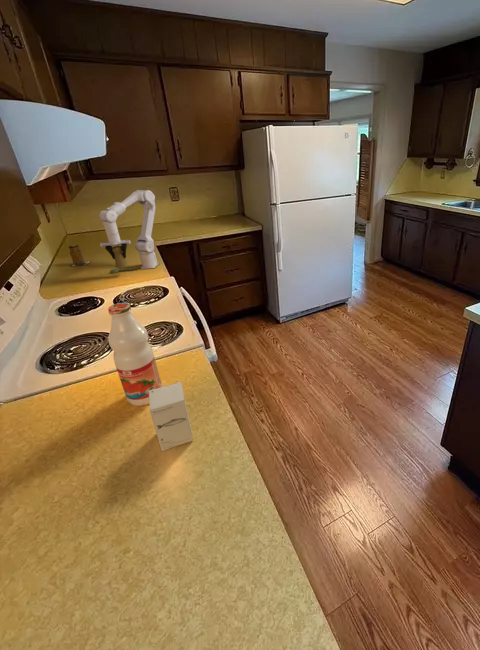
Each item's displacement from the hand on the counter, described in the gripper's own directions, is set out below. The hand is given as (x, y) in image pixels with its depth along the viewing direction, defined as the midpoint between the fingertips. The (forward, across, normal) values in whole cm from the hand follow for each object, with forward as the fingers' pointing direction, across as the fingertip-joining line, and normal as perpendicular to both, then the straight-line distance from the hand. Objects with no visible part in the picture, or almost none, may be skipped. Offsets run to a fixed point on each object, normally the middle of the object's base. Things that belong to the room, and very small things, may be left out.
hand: (119, 258), depth 181 cm
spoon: (+10, -2, +9) cm, 14 cm away
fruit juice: (+10, +23, -113) cm, 116 cm away
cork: (+5, 0, 0) cm, 5 cm away
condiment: (+11, -31, +36) cm, 49 cm away
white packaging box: (+10, +32, -132) cm, 136 cm away
